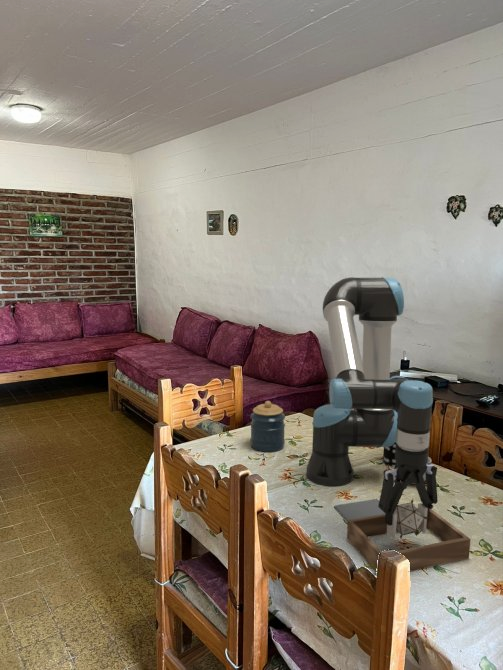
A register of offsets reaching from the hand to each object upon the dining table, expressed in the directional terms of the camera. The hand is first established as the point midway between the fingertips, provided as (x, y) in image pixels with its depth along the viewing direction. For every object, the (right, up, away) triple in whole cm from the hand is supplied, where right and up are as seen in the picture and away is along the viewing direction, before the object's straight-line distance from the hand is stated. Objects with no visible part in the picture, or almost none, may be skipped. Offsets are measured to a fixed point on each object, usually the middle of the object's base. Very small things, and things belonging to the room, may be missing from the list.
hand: (406, 532), depth 121 cm
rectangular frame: (0, -4, 0) cm, 4 cm away
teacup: (+14, +2, +36) cm, 38 cm away
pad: (-6, -1, +16) cm, 17 cm away
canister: (-32, +7, +65) cm, 73 cm away
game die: (0, -1, 0) cm, 1 cm away
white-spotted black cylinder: (+12, +4, +51) cm, 52 cm away
